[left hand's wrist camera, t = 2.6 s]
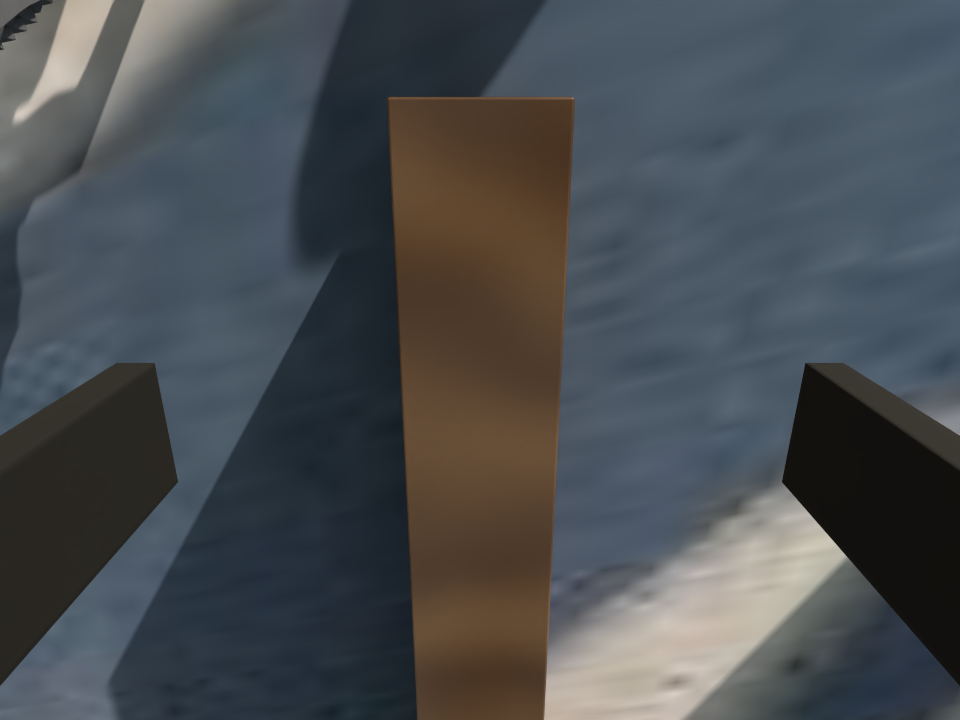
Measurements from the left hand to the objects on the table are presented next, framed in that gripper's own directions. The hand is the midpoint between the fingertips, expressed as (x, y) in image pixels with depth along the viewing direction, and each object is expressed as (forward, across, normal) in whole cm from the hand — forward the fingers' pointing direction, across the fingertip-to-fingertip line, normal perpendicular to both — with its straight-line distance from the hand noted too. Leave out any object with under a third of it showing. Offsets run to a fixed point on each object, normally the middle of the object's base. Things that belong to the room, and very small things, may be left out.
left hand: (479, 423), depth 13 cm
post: (+14, 0, -22) cm, 26 cm away
